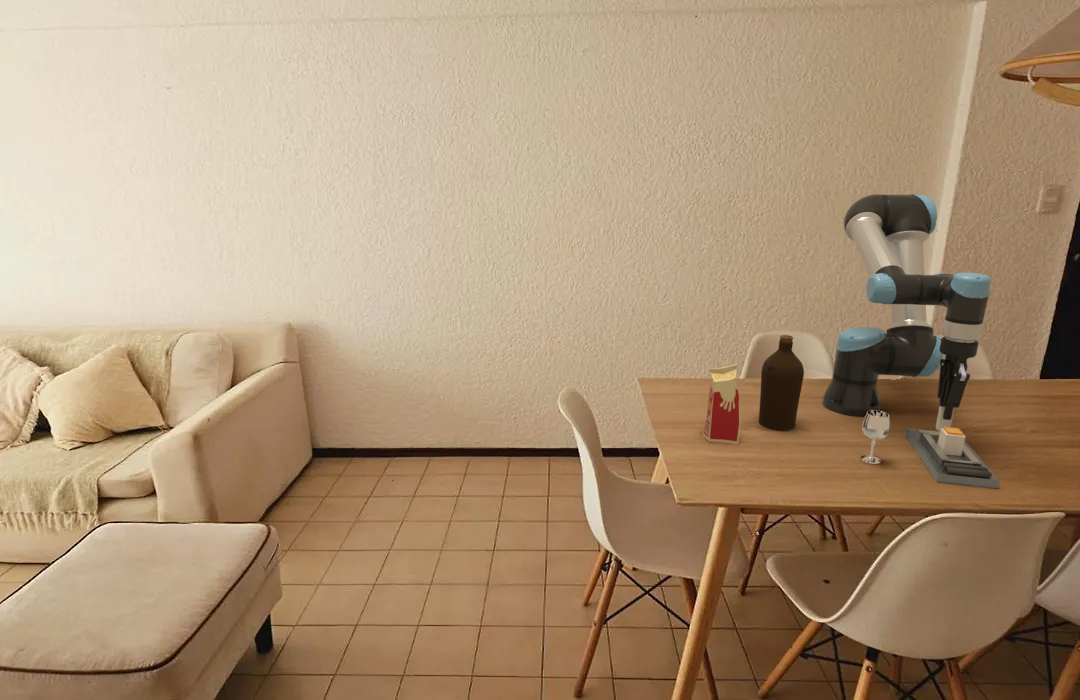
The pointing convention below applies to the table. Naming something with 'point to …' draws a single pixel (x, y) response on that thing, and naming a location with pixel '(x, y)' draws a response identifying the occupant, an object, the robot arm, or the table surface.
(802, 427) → the table surface
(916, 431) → the panel
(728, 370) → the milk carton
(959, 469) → the twin grey rollers
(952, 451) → the toggle
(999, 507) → the table surface
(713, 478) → the table surface
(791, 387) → the olive oil
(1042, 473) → the table surface
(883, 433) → the wineglass
